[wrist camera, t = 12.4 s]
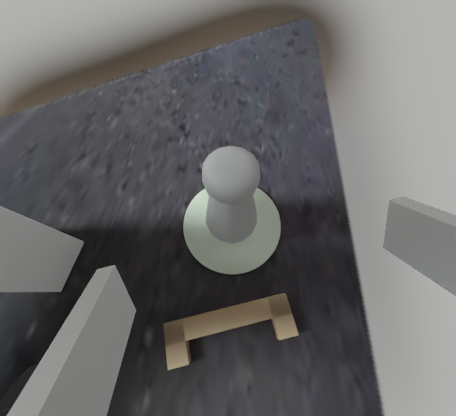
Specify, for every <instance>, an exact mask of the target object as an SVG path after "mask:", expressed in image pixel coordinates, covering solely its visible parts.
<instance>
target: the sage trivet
mask: <svg viewBox="0 0 456 416" xmlns="http://www.w3.org/2000/svg"><path fill="white" fill-rule="evenodd" d="M253 197H254V201H255V206H256V211H257V224H256V226H255V229H254V231H253V233H252V234H251V235H249V236H248V237H247V238H246V239H244V240H243V241H240V242H236V243H227V242H223V241H220V240H219V239H217V238H216V237H215V236H213V235H212V234H211V233H210V231H209V229H208V226H207V224H206V211H207V205H208V199H209V195H208V193H207V191H206V189H204V190H202V191H201V192H200V193H198V194H197V195H196V196H195V198H194V199H193V200H192V201H191V203H190V204H189V206H188V208H187V210H186V213H185V217H184V222H183V231H184V238H185V241H186V244H187V246H188V248H189V250H190V252H191V253H192V254H193V256H194V257H195V258H196V259H197V260H198V261H199V262H200V263H201V264H202V265H204V266H205V267H207V268H209V269H210V270H213V271H215V272H218V273H222V274H230V275H232V274H242V273H246V272H249V271H252V270H254V269H256V268H258V267H259V266H261V265H262V264H263V263H264V262H265V261H267V260H268V258H269V257H270V256H271V255H272V254H273V252H274V250H275V249H276V247H277V244H278V242H279V238H280V233H281V222H280V217H279V213H278V211H277V208H276V206H275V205H274V203H273V201H272V200H271V199H270V197H269V196H268V195H267V194H266V193H264V192H263V191H262V190H261V189H259V188H256V191H255V193H254V195H253Z"/></svg>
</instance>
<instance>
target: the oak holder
mask: <svg viewBox="0 0 456 416" xmlns="http://www.w3.org/2000/svg"><path fill="white" fill-rule="evenodd" d="M268 319H271V320H272V323H273V327H274V331H275V334H276V338H277V339H278V340H282V339H286V338H290V337H294V336H297V335H299V334H298V331H297V328H296V324H295V321H294V318H293V315H292V312H291V308H290V305H289V302H288V299H287V295H286V293H281V294H277V295H273V296H269V297H265V298H261V299H257V300H253V301H249V302H245V303H242V304H238V305H234V306H230V307H226V308H222V309H218V310H214V311H210V312H206V313H202V314H198V315H194V316H190V317H186V318H182V319H178V320H174V321H170V322H167V323H164V324H163V329H164V339H165V348H166V358H167V367H168V370H171V369H175V368H178V367H182V366H186V365H189V364H190V362H191V354H190V347H189V340H191V339H195V338H199V337H203V336H207V335H211V334H214V333H218V332H222V331H226V330H230V329H234V328H237V327H241V326H245V325H249V324H253V323H257V322H260V321H264V320H268Z"/></svg>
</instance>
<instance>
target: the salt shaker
mask: <svg viewBox="0 0 456 416" xmlns="http://www.w3.org/2000/svg"><path fill="white" fill-rule="evenodd" d="M202 182H203V185H204V187H205V189H206V191H207V193H208V195H209V199H208V205H207V211H206V224H207V226H208V229H209V231H210V233H211V234H212V235H213V236H215V237H216V238H217V239H219V240H220V241H223V242H227V243H236V242H240V241H243V240H244V239H246V238H247V237H248V236H249V235H251V234H252V233H253V231H254V229H255V226H256V224H257V211H256V206H255V201H254V197H253V195H254V193H255V191H256V188H257V186H258V184H259V182H260V167H259V163H258V161H257V160H256V158H255V157H254V155H253V154H252V153H250V152H249V151H247V150H246V149H244V148H241V147H235V146H227V147H221V148H218V149H216V150H215V151H214V152H212V153H211V154H209V155H208V157H207V158H206V160H205V162H204V163H203V168H202Z"/></svg>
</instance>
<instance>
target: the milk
mask: <svg viewBox="0 0 456 416" xmlns="http://www.w3.org/2000/svg"><path fill="white" fill-rule="evenodd" d="M83 244H84V241H82V240H79V239H77V238H75V237H72V236H70V235H67V234H65V233H63V232H60V231H58V230H56V229H53V228H51V227H48V226H46V225H44V224H41V223H39V222H37V221H34V220H32V219H29V218H27V217H25V216H22V215H20V214H18V213H15V212H13V211H11V210H8V209H6V208H3V207H1V206H0V292H61V291H62V289H63V287H64V285H65V283H66V281H67V278H68V276H69V274H70V272H71V270H72V268H73V266H74V263H75V261H76V259H77V257H78V255H79V253H80V251H81V248H82V246H83Z"/></svg>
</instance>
